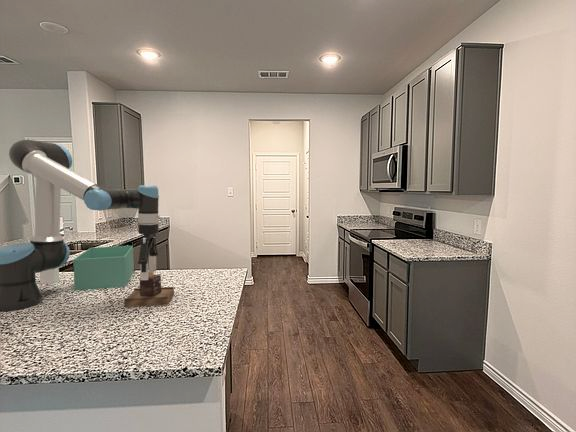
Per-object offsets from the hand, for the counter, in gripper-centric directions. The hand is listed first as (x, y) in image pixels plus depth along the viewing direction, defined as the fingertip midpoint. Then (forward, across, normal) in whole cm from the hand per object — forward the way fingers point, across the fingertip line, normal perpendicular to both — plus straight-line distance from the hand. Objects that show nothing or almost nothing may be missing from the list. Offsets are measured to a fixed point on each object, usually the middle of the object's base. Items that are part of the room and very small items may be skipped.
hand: (148, 275), depth 133 cm
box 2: (+8, 0, -1) cm, 8 cm away
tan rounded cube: (0, 0, 0) cm, 1 cm away
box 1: (+12, +36, +28) cm, 47 cm away
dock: (+10, 0, -1) cm, 10 cm away
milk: (+12, +36, +54) cm, 66 cm away
